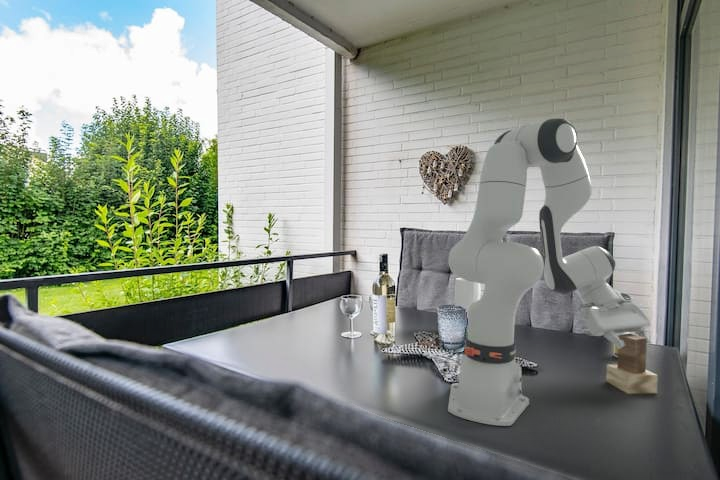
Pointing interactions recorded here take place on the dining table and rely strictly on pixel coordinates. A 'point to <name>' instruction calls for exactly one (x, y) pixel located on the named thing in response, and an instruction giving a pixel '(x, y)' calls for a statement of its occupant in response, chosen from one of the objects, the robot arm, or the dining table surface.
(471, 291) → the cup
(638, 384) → the oak block
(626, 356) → the walnut block
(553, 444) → the dining table surface
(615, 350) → the supplement bottle
